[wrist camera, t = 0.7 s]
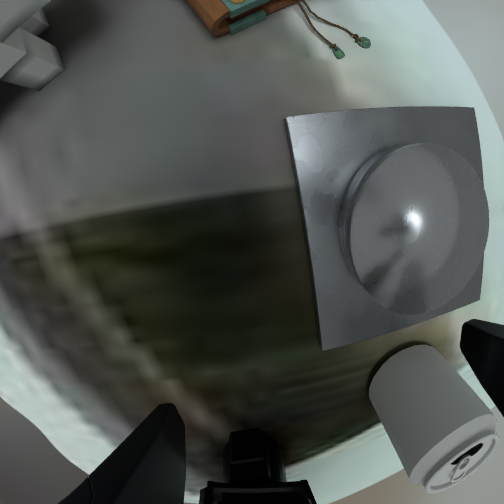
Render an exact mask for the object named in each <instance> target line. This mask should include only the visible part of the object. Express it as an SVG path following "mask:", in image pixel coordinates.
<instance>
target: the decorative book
mask: <svg viewBox="0 0 504 504" xmlns="http://www.w3.org/2000/svg"><path fill="white" fill-rule="evenodd" d="M300 1H303V3H304V4H305V6H306V7H307V9H308V10H309V12H310V13H312V14H313V15H314V16H315V17H316V18H318V19H320V20H322V21H324V22H326V23H328V24H330V25H333V26H336V27H339V28H341V29H343V30H345V31H347V32H348V33H349V34H351V35H352V36H351V37H354V38H356V40H355V43H358V45H359V46H361V47H363V48H369V47H370V46H371V43H370V40H369V39H368V38H366V37H358V35H357V34H352V33H351V32H350V31H348V30H347V29H345V28H343V27H341V26H339V25H336V24H333V23H330V22H328V21H326V20H324V19H322V18H320V17H318V16H317V15H316V14H315V13H313V12H312V11H311V9H310V8H309V6H308V5H307V3H306V2H305V1H304V0H186V2H187V3H188V4H189V5H190V7H191V8H192V9H193V10H194V11H195V13H196V14H197V15H198V17H199V18H200V19H201V20H202V22H203V23H204V24H205V25H206V27H207V28H208V29H209V31H210V32H211V33H212V35H216V36H218V35H223V34H226V33H229V32H230V34H231V35H233V34H235V33H237V32H239V31H241V30H243V29H245V28H247V27H249V26H251V25H253V24H256V23H258V22H260V21H262V20H264V19H265V18H266V15H268V14H270V13H272V12H275V11H277V10H280V9H282V8H285V7H287V6H290V5H292V4H295V3H297V4H298V5H299V7H300V8H301V10H302V12H303V13H304V15H305V17H306V18H307V20H308V22H309V24H310V26H311V27H312V28H313V30H314V31H315V32H316V33H317V34H318V35H319V36H320V37H321V38H322V39H324V40H325V41H326V42H327V43H329V44H330V45H331V46H330V48H332V47H333V53H334V55H335V57H336V58H337V59H341V58H343V57H344V56H345V54H344V52H343V51H342V50H341V49H340V48H339V47H338V46H336V44H332V43H331V42H329V41H328V40H327V39H325V38H324V37H323V36H322V35H321V34H320V33H319V32H318V31H317V30H316V29H315V28H314V26H313V25H312V23H311V21H310V19H309V17H308V16H307V14H306V12H305V11H304V9H303V7H302V6H301V4H300V3H299V2H300ZM356 36H357V37H356ZM361 41H362V43H361ZM337 50H338V51H337Z"/></svg>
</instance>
